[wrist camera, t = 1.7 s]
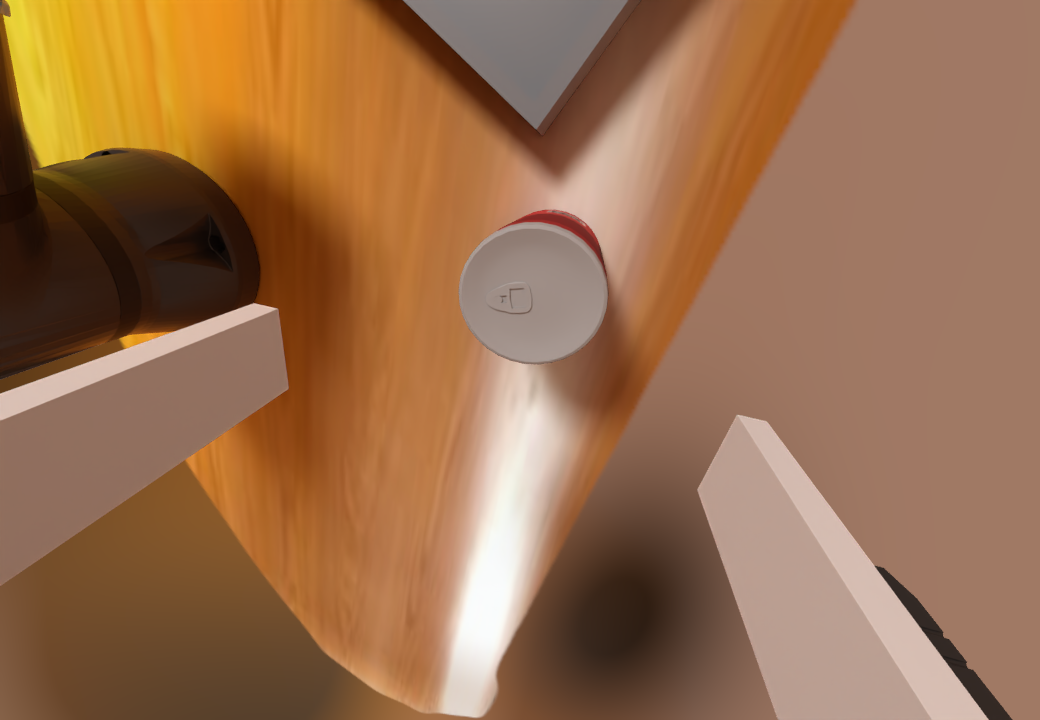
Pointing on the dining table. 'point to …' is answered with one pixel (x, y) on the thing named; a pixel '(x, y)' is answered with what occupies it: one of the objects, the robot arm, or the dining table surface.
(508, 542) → the dining table surface
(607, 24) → the tray
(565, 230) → the canned food
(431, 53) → the dining table surface
